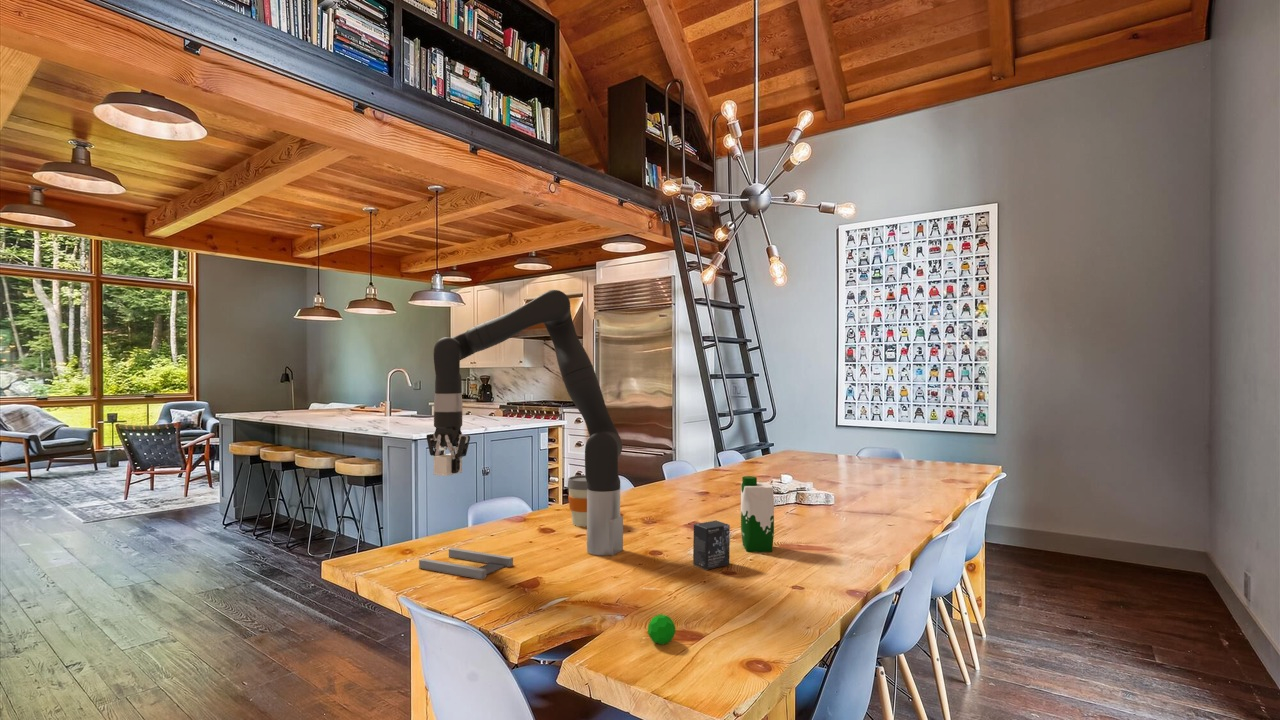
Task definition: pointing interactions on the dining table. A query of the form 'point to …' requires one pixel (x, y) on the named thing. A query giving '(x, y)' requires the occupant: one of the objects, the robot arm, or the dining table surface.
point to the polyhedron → (661, 629)
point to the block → (444, 465)
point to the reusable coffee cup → (578, 499)
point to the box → (711, 545)
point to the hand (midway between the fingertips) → (447, 471)
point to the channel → (479, 573)
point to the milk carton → (757, 515)
